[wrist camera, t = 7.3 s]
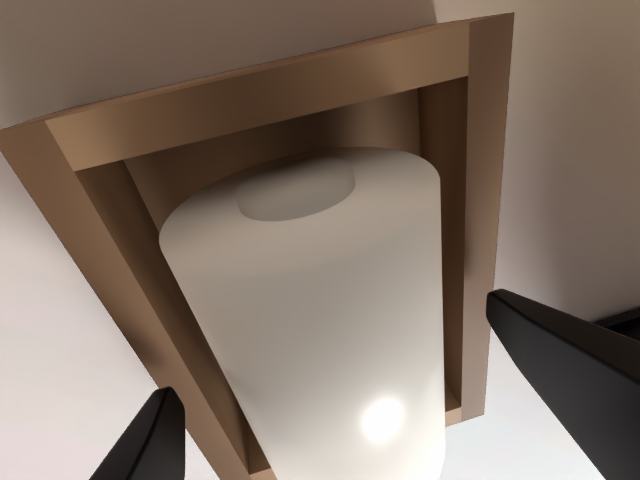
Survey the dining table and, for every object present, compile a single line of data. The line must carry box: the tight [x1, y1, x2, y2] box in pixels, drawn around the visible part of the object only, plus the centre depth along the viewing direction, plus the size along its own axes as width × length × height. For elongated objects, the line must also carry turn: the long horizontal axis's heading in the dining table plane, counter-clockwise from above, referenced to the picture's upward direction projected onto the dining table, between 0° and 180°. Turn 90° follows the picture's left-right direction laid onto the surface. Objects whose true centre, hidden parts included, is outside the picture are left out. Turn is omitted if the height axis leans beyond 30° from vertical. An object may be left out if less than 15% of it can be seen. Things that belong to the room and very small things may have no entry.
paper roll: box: [159, 147, 445, 480], centre depth 10 cm, size 10×6×6 cm, turn 10°
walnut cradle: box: [0, 12, 514, 480], centre depth 12 cm, size 10×14×3 cm
